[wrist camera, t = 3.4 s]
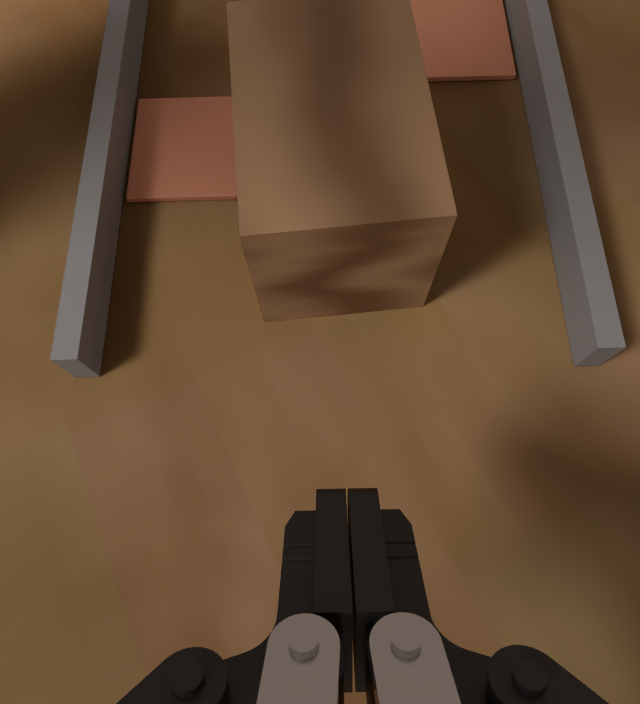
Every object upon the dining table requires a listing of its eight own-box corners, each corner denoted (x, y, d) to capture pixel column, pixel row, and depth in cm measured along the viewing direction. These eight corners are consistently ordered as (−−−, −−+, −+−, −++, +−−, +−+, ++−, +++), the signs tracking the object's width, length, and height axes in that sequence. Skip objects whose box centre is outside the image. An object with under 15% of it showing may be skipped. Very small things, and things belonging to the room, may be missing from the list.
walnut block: (264, 323, 27) (239, 236, 20) (251, 133, 31) (226, 1, 24) (422, 307, 27) (457, 215, 20) (388, 120, 31) (406, -15, 24)
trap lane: (75, 377, 26) (19, 339, 21) (141, -77, 38) (114, -166, 33) (599, 365, 26) (658, 324, 21) (505, -88, 37) (530, -180, 33)
